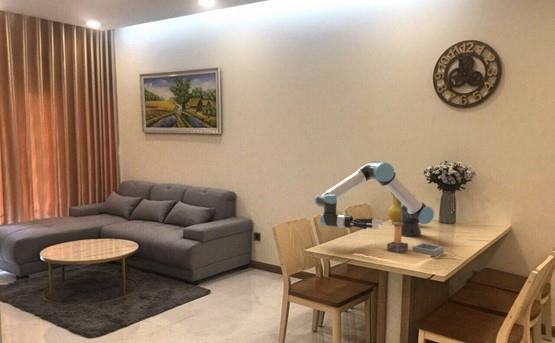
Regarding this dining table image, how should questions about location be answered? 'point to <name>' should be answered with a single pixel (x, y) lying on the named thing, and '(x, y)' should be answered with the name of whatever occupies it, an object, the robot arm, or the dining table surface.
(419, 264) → the dining table surface
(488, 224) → the dining table surface
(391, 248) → the grey square socket
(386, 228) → the dining table surface
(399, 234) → the lock pin
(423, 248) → the tray
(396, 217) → the pitcher
